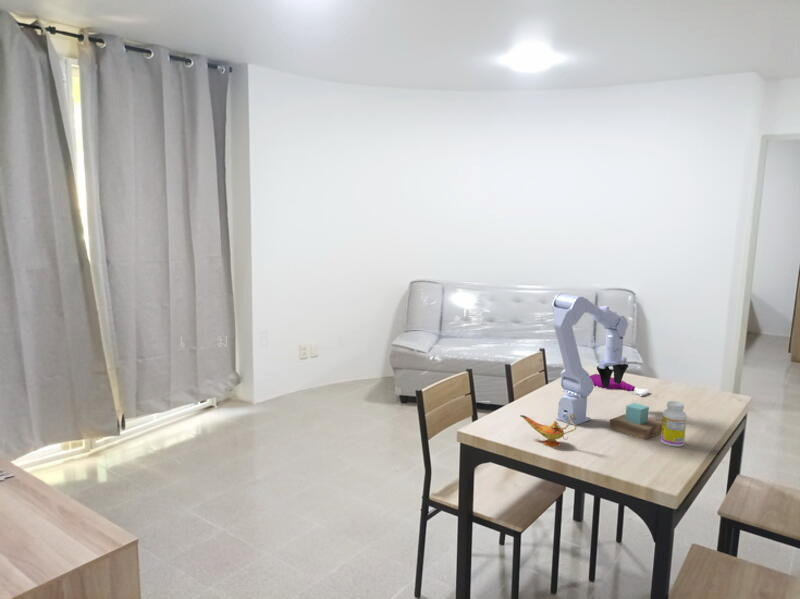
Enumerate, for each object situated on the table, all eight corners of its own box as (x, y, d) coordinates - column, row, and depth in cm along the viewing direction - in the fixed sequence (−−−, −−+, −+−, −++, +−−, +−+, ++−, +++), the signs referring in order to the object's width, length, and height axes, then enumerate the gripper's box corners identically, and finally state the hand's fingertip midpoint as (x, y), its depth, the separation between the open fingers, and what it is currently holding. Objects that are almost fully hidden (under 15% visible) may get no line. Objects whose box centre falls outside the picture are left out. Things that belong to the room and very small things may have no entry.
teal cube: (639, 425, 182) (640, 410, 182) (625, 420, 186) (626, 405, 186) (647, 421, 186) (648, 406, 185) (633, 417, 189) (634, 402, 189)
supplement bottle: (663, 437, 180) (667, 398, 179) (686, 442, 176) (690, 403, 174) (657, 443, 175) (661, 403, 173) (681, 449, 171) (684, 408, 169)
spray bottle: (596, 379, 244) (652, 394, 226) (582, 384, 237) (639, 399, 219) (596, 372, 244) (653, 387, 226) (583, 377, 237) (640, 392, 218)
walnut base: (643, 439, 178) (644, 430, 178) (609, 428, 187) (609, 419, 187) (663, 431, 185) (664, 422, 185) (629, 420, 195) (629, 412, 194)
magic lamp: (523, 432, 183) (524, 399, 182) (578, 445, 173) (580, 410, 172) (514, 438, 178) (515, 405, 176) (571, 453, 168) (573, 417, 166)
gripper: (612, 353, 194) (609, 391, 196) (635, 347, 203) (632, 384, 205) (594, 349, 199) (592, 386, 202) (617, 343, 208) (615, 379, 210)
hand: (611, 384), depth 204 cm, fingers open, 7 cm apart
